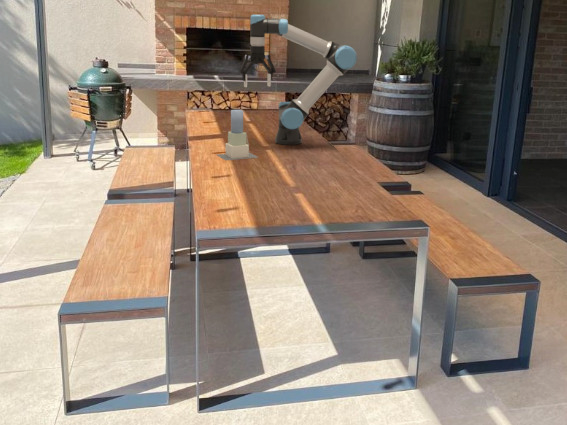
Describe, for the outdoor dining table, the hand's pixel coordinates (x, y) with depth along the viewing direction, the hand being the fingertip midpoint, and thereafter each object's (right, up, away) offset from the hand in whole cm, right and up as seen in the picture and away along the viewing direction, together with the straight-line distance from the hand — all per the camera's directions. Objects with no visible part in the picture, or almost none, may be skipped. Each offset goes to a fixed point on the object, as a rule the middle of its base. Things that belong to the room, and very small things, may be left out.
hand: (257, 86), depth 342 cm
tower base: (-10, -38, -17) cm, 43 cm away
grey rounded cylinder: (-9, -27, -20) cm, 35 cm away
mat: (-10, -39, -16) cm, 44 cm away
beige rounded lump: (-9, -33, +4) cm, 34 cm away
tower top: (-9, -33, -19) cm, 39 cm away
